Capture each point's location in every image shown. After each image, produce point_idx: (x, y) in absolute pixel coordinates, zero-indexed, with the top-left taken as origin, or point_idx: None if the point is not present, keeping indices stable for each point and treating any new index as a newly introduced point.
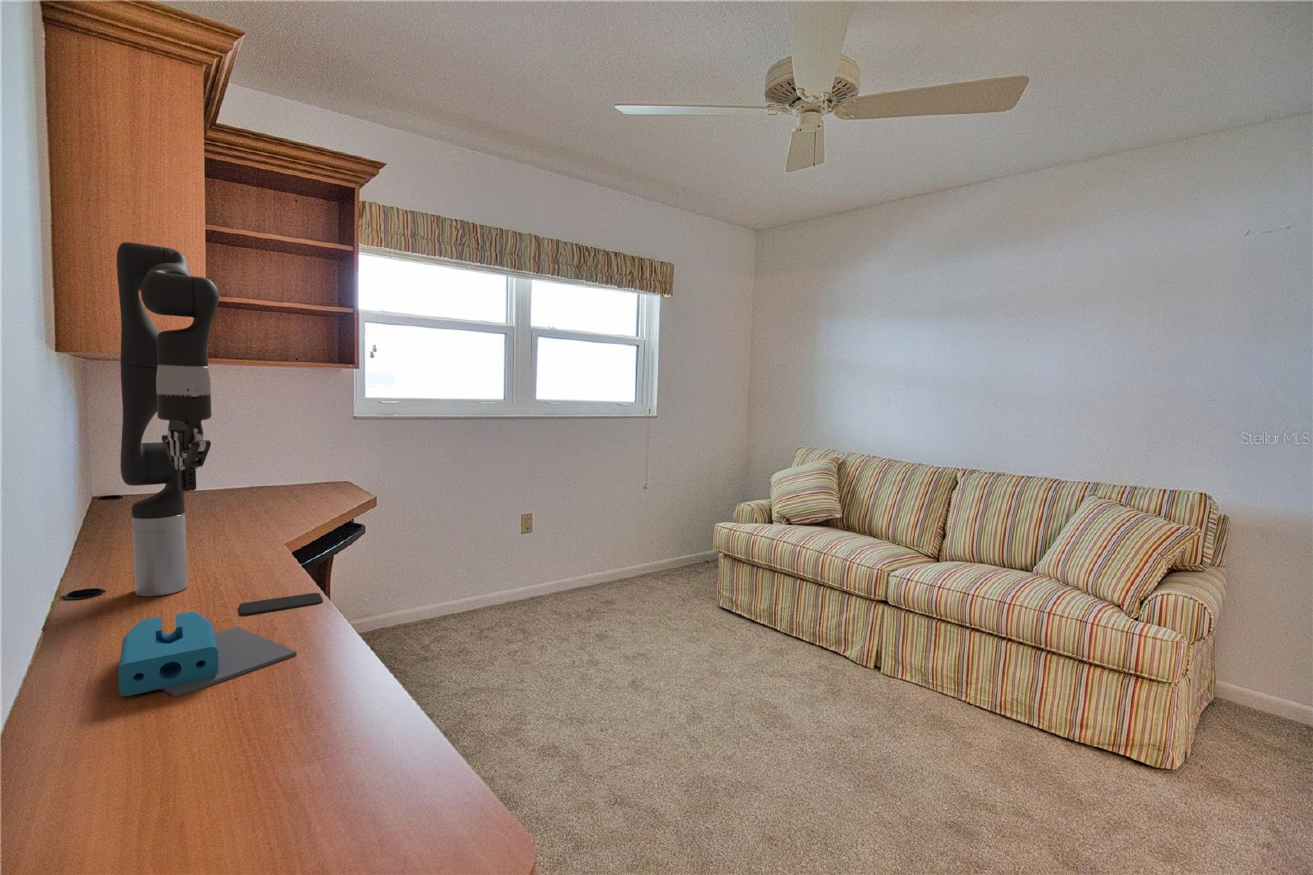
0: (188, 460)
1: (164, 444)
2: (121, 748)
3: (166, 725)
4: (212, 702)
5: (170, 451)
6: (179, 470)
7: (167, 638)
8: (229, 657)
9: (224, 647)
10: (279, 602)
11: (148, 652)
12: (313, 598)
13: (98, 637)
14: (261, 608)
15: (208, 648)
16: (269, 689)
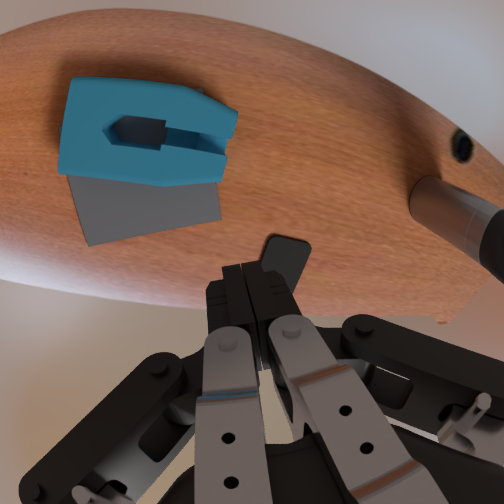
0: (113, 398)
1: (488, 365)
2: (5, 88)
3: (15, 117)
4: (30, 154)
5: (361, 383)
6: (253, 321)
7: (204, 138)
8: (116, 186)
9: (154, 189)
10: None
11: (87, 104)
12: None
13: (326, 96)
14: (272, 259)
15: (58, 165)
16: (27, 202)
